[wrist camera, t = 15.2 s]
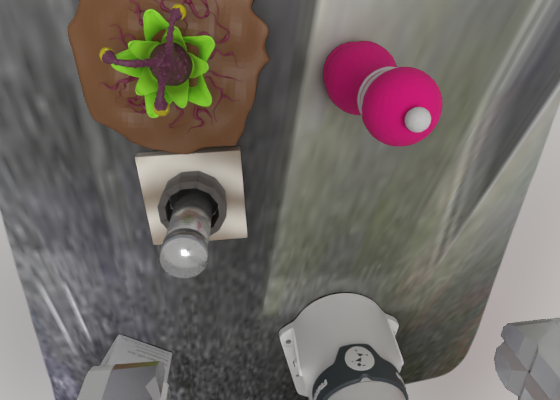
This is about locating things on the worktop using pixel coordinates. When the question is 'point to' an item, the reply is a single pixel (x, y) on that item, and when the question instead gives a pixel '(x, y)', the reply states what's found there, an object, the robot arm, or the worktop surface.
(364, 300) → the robot arm
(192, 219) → the frosted cylinder in socket
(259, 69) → the plant
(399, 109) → the pepper mill
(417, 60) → the worktop surface
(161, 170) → the duct board
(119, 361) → the supplement box
